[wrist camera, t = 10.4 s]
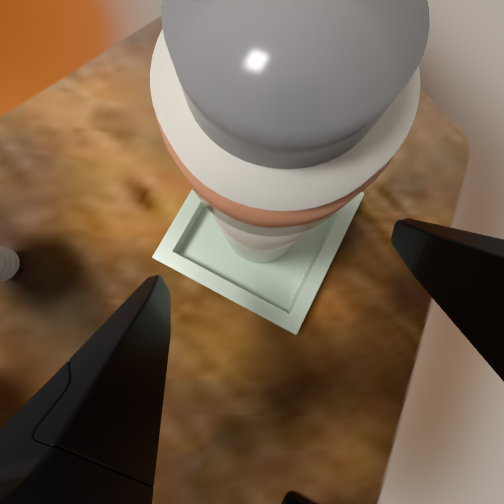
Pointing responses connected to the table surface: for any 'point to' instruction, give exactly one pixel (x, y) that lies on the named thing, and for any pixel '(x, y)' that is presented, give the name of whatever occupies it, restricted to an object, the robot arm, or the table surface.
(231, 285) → the tray
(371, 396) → the table surface
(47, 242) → the table surface
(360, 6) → the bottle
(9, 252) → the light bulb
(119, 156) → the table surface
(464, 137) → the table surface
